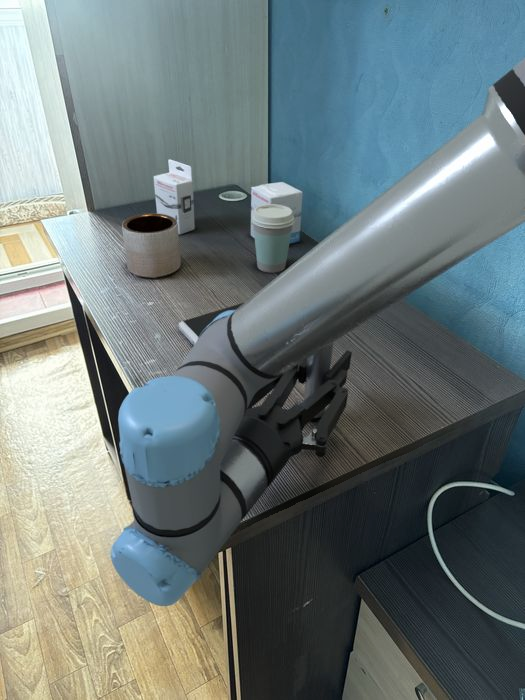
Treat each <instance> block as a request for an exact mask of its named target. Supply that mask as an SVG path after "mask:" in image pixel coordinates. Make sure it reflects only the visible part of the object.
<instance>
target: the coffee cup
mask: <svg viewBox="0 0 525 700" xmlns="http://www.w3.org/2000/svg"><path fill="white" fill-rule="evenodd" d="M251 221H252V222H253V227H254V237H255V238H254V244H255V256H256V265H257V268H258V270H260V271H262V272H263V273H280V272H283V271H285V270H286V266H287V259H288V255H289V254H288V253H289V248H290V247H289V246H290V244H289V243H290V237H291V231H292V225H293V223H294V222H295V220H294V216H293V213H292V210H291V209H290V208H289V207H286V206H283V205H277V204H267V205H261V206H258V207H256V208H255V210H254V213H253V215H252V219H251V218H250V222H251Z"/></svg>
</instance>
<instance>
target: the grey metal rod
mask: <svg viewBox="0 0 525 700" xmlns="http://www.w3.org/2000/svg"><path fill="white" fill-rule="evenodd" d="M333 350H334V342H333V343H331V344H329V345H328V346H326V347H325V348H323V349H321V350H320V351H318V352H317V353H315V354H313V355H312V356H310V357H309V358H307V368H306V379H305V383H304V391H303V401H304V400H305V399H307V398H308V397H309V396H310V395H311V394H313V393H314V392H315V391H316V390H317V389H319V388H320V387H321V386H322V385H324V382H325V375H326V374H327V373H328V372H329V371H330V369H331V367H332V357H333ZM325 411H326V407H325V408H324V409H323V410H322V411H321V412H320V413H318V414H317V415H316V416H315V417H314V418H313V419H312V420H310V421H309V422H311V423H317V422H319V421H320V419H321V418H322V416H323V414H324V413H325Z"/></svg>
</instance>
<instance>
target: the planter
mask: <svg viewBox="0 0 525 700" xmlns="http://www.w3.org/2000/svg"><path fill="white" fill-rule="evenodd" d="M121 230H122V236H123V237H122V238H123V246H124V254H125V261H126V268H127V271H129V273H131V274H132V275H135V276H137V277H140V278H144V279H158V278H159V279H160V278H164V277H167V276H170V275H172V274H174V273H175V272H177V271H178V270H179V269H180V268H181V265H182V258H181V248H180V239H179V238H180V236H179V235H180V234H178V223H177V220H176V219H175V218H173V217H171V216H169V215H165V214H157V212H155V213H154V212H149V213H141V214H135V215H133V216H130V217H128V218H126V219H124V220H123V221H122V223H121Z"/></svg>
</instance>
